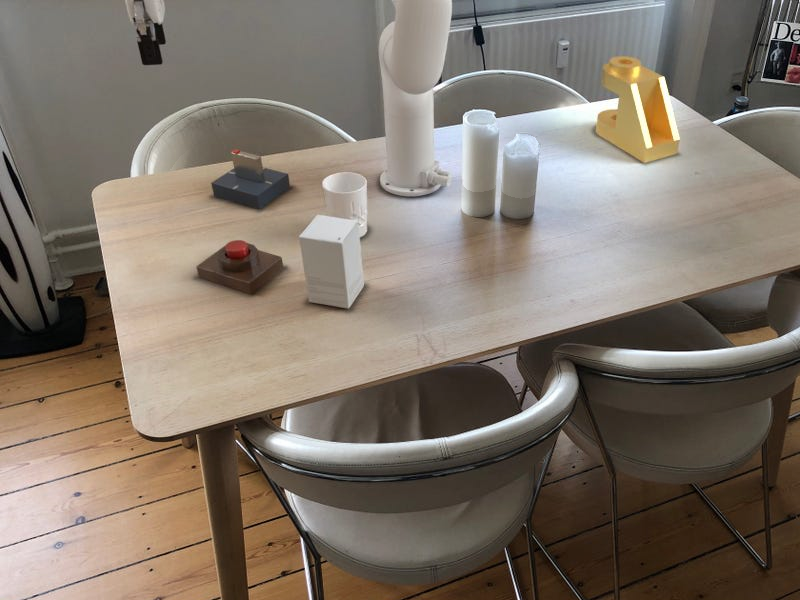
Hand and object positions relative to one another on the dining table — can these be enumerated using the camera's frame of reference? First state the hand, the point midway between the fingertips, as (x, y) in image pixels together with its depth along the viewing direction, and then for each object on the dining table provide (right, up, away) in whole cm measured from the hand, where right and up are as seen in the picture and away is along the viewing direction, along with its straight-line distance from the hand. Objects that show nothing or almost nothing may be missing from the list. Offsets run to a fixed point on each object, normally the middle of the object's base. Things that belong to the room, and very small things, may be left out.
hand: (154, 54), depth 142 cm
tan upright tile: (+11, -17, +21) cm, 29 cm away
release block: (+15, -37, +1) cm, 40 cm away
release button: (+15, -34, -1) cm, 37 cm away
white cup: (+31, -29, +12) cm, 44 cm away
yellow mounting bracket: (+89, -3, +45) cm, 100 cm away
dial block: (+10, -19, +23) cm, 32 cm away
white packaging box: (+32, -41, -3) cm, 52 cm away
